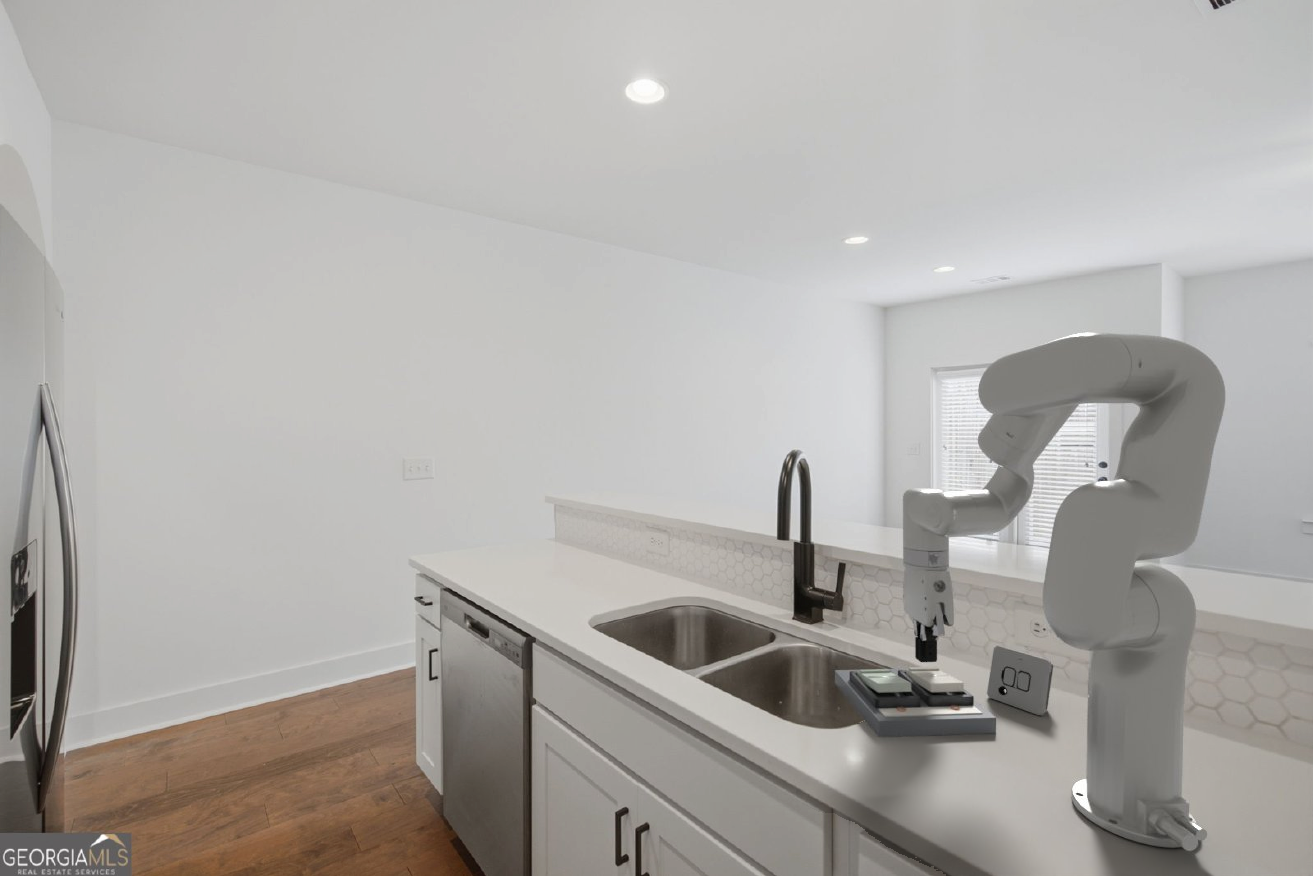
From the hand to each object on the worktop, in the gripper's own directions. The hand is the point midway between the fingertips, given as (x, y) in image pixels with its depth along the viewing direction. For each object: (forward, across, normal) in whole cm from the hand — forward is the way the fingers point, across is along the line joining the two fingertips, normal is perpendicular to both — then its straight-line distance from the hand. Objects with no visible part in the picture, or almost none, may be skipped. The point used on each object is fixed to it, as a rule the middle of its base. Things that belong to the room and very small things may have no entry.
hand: (926, 660), depth 112 cm
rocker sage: (+2, -3, +9) cm, 10 cm away
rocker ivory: (+2, -3, 0) cm, 4 cm away
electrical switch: (+7, -3, -15) cm, 17 cm away
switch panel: (+7, -3, +5) cm, 9 cm away
